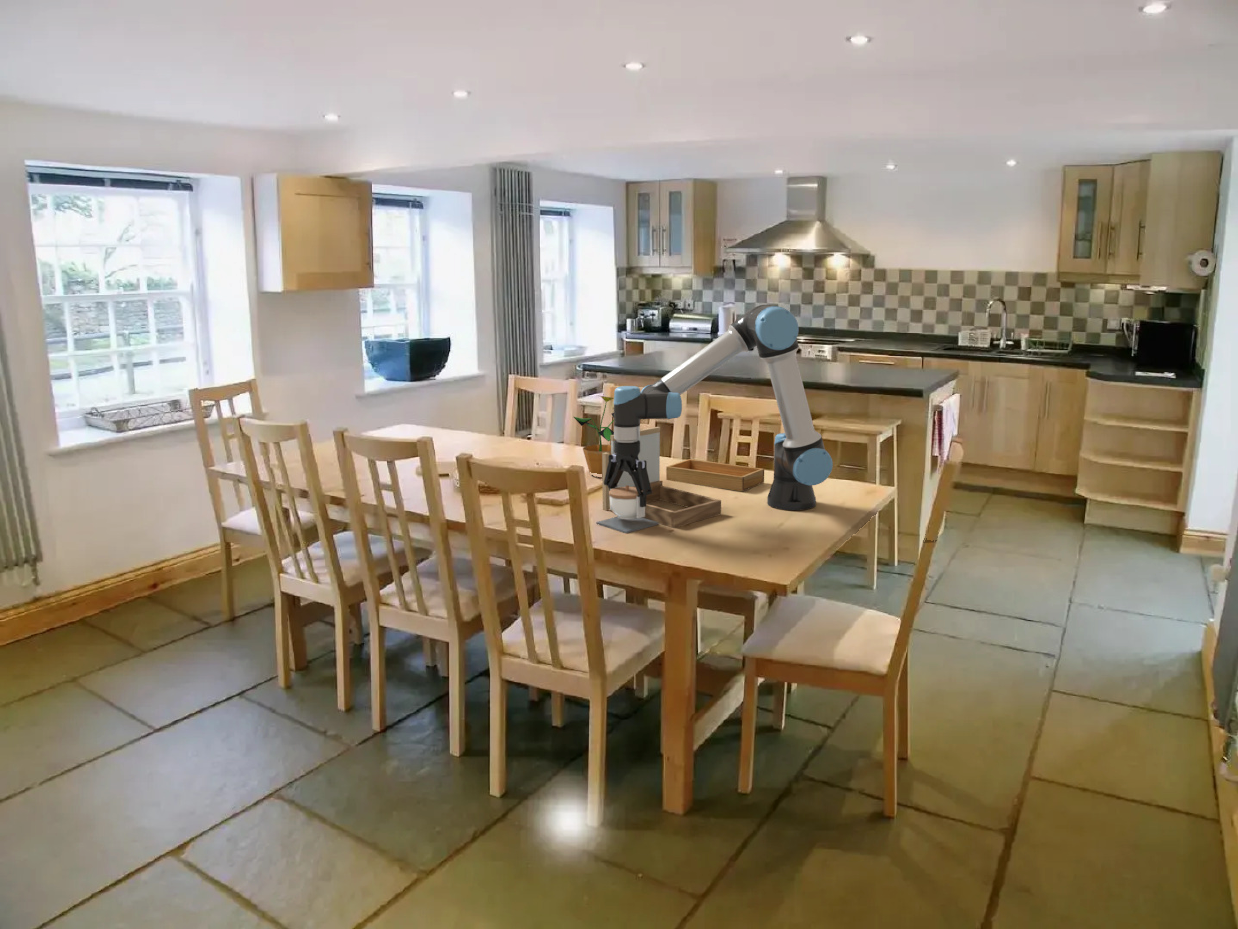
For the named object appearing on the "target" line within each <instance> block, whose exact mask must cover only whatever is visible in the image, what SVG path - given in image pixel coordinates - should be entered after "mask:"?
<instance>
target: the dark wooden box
mask: <svg viewBox="0 0 1238 929" xmlns="http://www.w3.org/2000/svg"><path fill="white" fill-rule="evenodd" d="M650 486H651V490H652V494H649V495H647V496H646V506H645V517H642V518H645V519H649V520H652V521H656V522H659V524H660V525H664V526H667V527H671V528H673V529H676V528H679V527H682V526H687V525H689V524H693V523H696V522H699V521H703V520H706V519H709V518H714V517H717V516H720V515H722V500H721V499H717V498H715V497H714V498H713V497H710V496H705V495H701V494H697V493H693V492H689V491H685V490H681V489H678V488H673V487H669V486H666V485H663V480H660V481H656V482H651V483H650ZM634 487H635V486H634ZM657 501H664V502H667V503H671V504H675V505H679V506H683V507H685V508H683V509H679V510H675V511H674V510H672V509H666V508H664V507H660V506H657V505H652V504H649V503H652V502H657ZM659 524H658V525H659Z"/></svg>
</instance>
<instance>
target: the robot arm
mask: <svg viewBox="0 0 1238 929" xmlns="http://www.w3.org/2000/svg"><path fill="white" fill-rule="evenodd" d="M799 329H800V328H799V323H798V321H797V318H796V317H795V315H794V314H793V313H792V311H791V312H790V311H789V310H788V309H787V308H785V307H782V306H778V305H770V304H760V305H757V306H754V307H753V308H751V309H749V310H748V311H746V312H745V313H744V314H743V315H742V316H740V317H739V318H738V319H736V320H735V321H733V322H732V323H731V324H729V326H728V329H727V331H725V332H724V333H723V334H721V335H720V336H719V337H717V338H716V339H715V340H713V341H711V342H710V343H709V344H707V345H706V346H705V347H703V348H702V349H700V350H699V351H698V352H696V353H694V354H693V355H692V356H691V357H689V358H688V359H686V360H685V361H683V362H682V363H681V364H679V365H678V366H676V367H675V368H674V369H673V370H671V371H670V372H668V373H667V374H665V375H664V376H663V377H661V378H660V379H659V380H657V381H656V382H654V383H652V384H648V385H646V386H644V387H643V388H642V389H641V388H640V387H638V386H635V385H622V386H621V385H620V386H618V387H616V388H615V389H614V394H613V396H614V397H613V398H614V399H613V413H614V417H613V420H614V421H613V428H614V429H613V432H614V439H616V440H615V441H614V452H615V453H616V454H612V455H609V456H608V460H609V462H608V467H607V471H606V475H605V479H604V485H607V486H608V488H609V491H610V490H611V489H614V488H615V487H616V488H617V484H618V482H619V480H620V478H621V476H622V474H623V472H624V471H626V472H628V473H629V475H630V476H631V477H632V480H633V482H634V485H635V487H636V490H637V492H638V494H639V495H638V496H637V518H641V517H645V506H646V504H647V503H646V496H647V495H649V494H652V490H651V486H650V481H649V477H648V473H647V462H646V461H645V460H644V461H640V460H639V459H638V454H639V453H640V441H639V440H638V439H640V430H641V420H662V419H663V420H665V419H666V420H671V419H679V418H680V417H681V415H682V411H683V410H682V409H683V404H682V403H683V402H682V396H681V395H683V394H684V393H685V392H687V391H688V390H690V389H692V388H693V387H694V386H696V385H697V384H698V383H700V382H701V381H702V380H704V379H705V378H707V377H708V376H709V375H711V374H712V373H714V372H715V371H717V370H718V369H720V368H721V367H722V366H724V365H725V364H727V363H728V362H729V361H731V360H732V359H733V358H735V357H737V355H739V354H740V353H742V352H744V353H745V352H746V353H748V352H749V351H751V350H752V349H753V348H755V347H756V348H757V349H756V350H757V353H758V356H759V358H760V359H761V360H763V362H765V363H766V366H767V370H768V374H769V378H770V382H771V385H772V389H773V394H774V397H775V401H776V404H777V407H778V411H779V416H780V420H781V423H782V427H783V430H784V432H782V433H781V432H780V433H777V434H776V435H775V437H774V443H773V444H774V451H773V452H774V453H773V455H774V457H773V480H772V483H771V486H770V489H769V491H768V494H767V502H766V504H767V506H769V507H771V508H775V509H779V510H785V511H805V510H810V509H813V508H815V507H816V503H817V498H816V495H815V492H814V488H813V487H814V486H817V485H820V484H822V483H824V482H825V481H826V480H827V479H828V478H829V476H830V475H831V472H832V471H833V468H834V466H833V463H834V462H833V458H832V457H831V454H830V453H829V452H828V451H827V450H826V449H825V445H824V440H823V438H822V437H823V436H822V434H821V433H819V432H818V431H816V430H815V427H814V423H813V418H812V414H811V411H810V406H809V403H808V402H809V401H808V399H807V398H808V397H807V395H806V390H805V388H804V383H803V379H802V376H801V372H800V368H799V367H800V366H799V364H798V360H797V355H796V353H797V351H798V349H799V348H800V346H799V342H798V336H799ZM634 470H635V471H634ZM642 491H643V492H642ZM609 498H610V495H609ZM610 511H612V509H611V506H610Z"/></svg>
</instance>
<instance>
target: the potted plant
mask: <svg viewBox="0 0 1238 929" xmlns="http://www.w3.org/2000/svg"><path fill="white" fill-rule="evenodd" d="M596 397H598V395H596ZM599 397H601V398H602V399H603V401H604V402H605V405H604V409H603V413H602V416H601V420H600V424H599V428H598V426H597V425H596V423H595V421H594V420H593V418H591V417H590V418H589V417H588V418H582V417H577V416H573V418H574V419H575V420H576V422H577V423H578V424H579V425H580V426H582V427H583V426H584V425H585V424H586V425H587V426H588V427H590V428H592V429H596V431H597V434H598V437H599V444H589V445H586V446H584V447H582V451H583V454H584V458H585V461H586V464H587V469H588V473H590V472H591V473H597V474H602V453H609V455H611V444H603V443H602V437H603V439H605V441H607V442H610V441H611V438H610V435H614V430H612V429H611V427H610V426H611V425H612V424H613V423H614V419H613V420H612V421H611V422H610V423H609V424H608V425H607V426H602V423H603V419H604V416H605V413H606V408H607V402H610V401H611V400H614V397H609V396H603V395H599ZM611 416H612V417H613V418H614V412H612V413H611ZM589 421H592V423H593V424H592V423H589Z"/></svg>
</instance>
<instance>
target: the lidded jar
mask: <svg viewBox="0 0 1238 929" xmlns="http://www.w3.org/2000/svg"><path fill="white" fill-rule="evenodd" d="M642 492H643V491H642ZM609 495H610V506H611V509H612V510H611V511H612V512H613V513H614V515H615V516H616V517H618V518H620V519H635V518H637V496H638V495H639V494H638V492H637V490H636V487H629V485H626V487H618V488H614V489H611V490H610V491H609Z"/></svg>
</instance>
